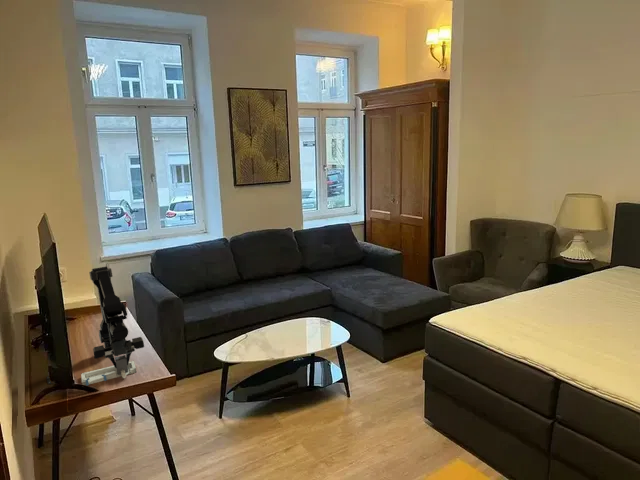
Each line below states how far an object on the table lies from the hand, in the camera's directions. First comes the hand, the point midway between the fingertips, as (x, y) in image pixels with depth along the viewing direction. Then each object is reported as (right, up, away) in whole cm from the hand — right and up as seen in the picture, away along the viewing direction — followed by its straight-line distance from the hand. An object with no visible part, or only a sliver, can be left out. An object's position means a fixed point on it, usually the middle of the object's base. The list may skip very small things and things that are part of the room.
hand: (121, 366), depth 191 cm
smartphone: (-22, -4, 0) cm, 23 cm away
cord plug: (+1, -3, -2) cm, 4 cm away
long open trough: (-4, -3, -2) cm, 6 cm away
